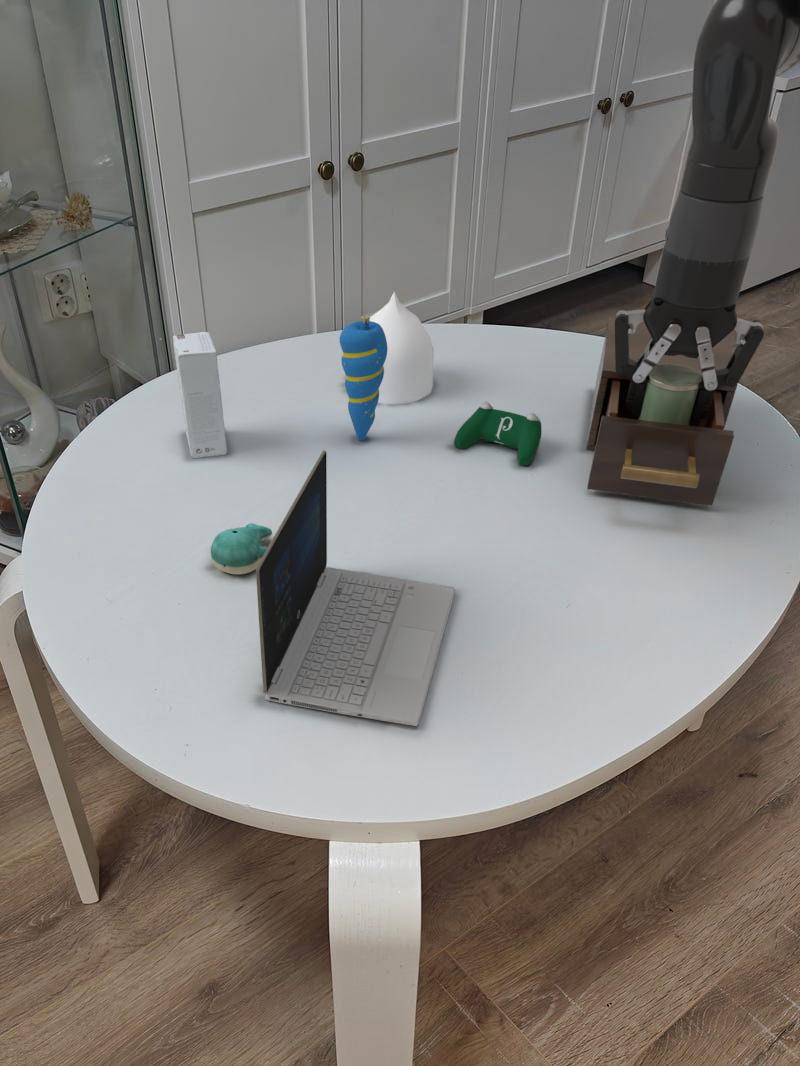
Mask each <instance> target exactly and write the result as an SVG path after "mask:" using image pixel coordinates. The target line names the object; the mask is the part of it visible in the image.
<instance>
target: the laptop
mask: <svg viewBox="0 0 800 1066" xmlns="http://www.w3.org/2000/svg"><path fill="white" fill-rule="evenodd" d="M327 479H328V478H327V451H326V450H325V449H323V450H322V451H321V453H320V455H319V457H318V458H317V460H316V462H315V463H314V465H313V467H312V469H311V471H310V472H309V474H308V475H307V478H306V479H305V481H304V482H303V485H302V486H301V489H300V490H299V492H298V493H297V495H296V497H295V499H294V501H293V502H292V504H291V506H290V507H289V509H288V511H287V512H286V515H285V516H284V518H283V520H282V521H281V523H280V525H279V527H278V529H277V531H276V532H275V534H274V536H273V537H272V539H271V541H270V543H269V545H268V546H267V547H268V548H267V550H266V552H265V553H264V555H263V557H262V559H261V560H260V562H259V564H258V566H257V568H256V569H255V576H256V577H255V579H256V594H257V595H256V597H257V612H258V613H257V614H258V626H259V630H258V631H259V643H260V645H259V646H260V659H261V660H260V662H261V675H262V676H261V677H262V691H263V692H262V693H263V694H265V693H266V695H265V700H266V701H270V702H274V703H279V704H285V705H290V706H296V707H301V708H307V709H311V710H319V711H323V712H330V713H336V714H340V715H347V716H353V717H358V718H363V719H364V718H365V719H371V720H375V721H376V720H377V721H383V722H388V723H396V724H400V725H407V726H414V727H418V726H419V724H420V721H421V717H422V714H423V710H424V706H425V702H426V699H427V697H428V691H429V688H430V685H431V681H432V677H433V674H434V670H435V666H436V663H437V659H438V655H439V652H440V648H441V645H442V642H443V638H444V634H445V630H446V627H447V623H448V620H449V615H450V611H451V609H452V605H453V602H454V598H455V593H456V588H455V587H453V586H449V585H443V584H436V583H430V582H425V581H418V580H417V581H416V580H412V579H406V578H398V577H392V576H385V575H381V574H373V573H368V572H361V571H355V570H348V569H341V568H336V567H329V566H327V563H328V531H327V530H328V525H327V523H328V518H327V515H328V514H327V511H328V509H327V508H328V507H327V506H328V505H327V503H328V502H327V501H328V498H327V495H328V493H327V491H328V489H327V487H328V486H327V484H328V483H327V482H328V481H327Z"/></svg>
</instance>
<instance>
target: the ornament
mask: <svg viewBox="0 0 800 1066" xmlns="http://www.w3.org/2000/svg"><path fill="white" fill-rule="evenodd" d="M366 312H367V309H365V310H364V314H363V315H361V316H360V320H358V321H353V322H351V323H349V324H348V325H347V326H345V327H344V328H343V329H342V331H341V332H340V334H339V345H340V348H341V351H342V355H341V359H340V360H341V366H342V369H343V371H344V374H345V381H344V386H345V390H346V394H347V397H348V403H347V408H348V409H347V410H348V414H349V417H350V421H351V423H352V426H353V429H354V430H353V431H354V432H355V437H356V439H357V441H358V442H363V441H365V439H366V437H367V435H368V433H369V431H370V429H371V428H372V426H373V424H374V422H375V418H376V408H377V406H378V404H379V403H378V399H379V387H380V385H381V382H382V380H383V377H384V367H383V365H384V362H385V360H386V356H387V341H386V336H385V333H384V331H383V329H382V327H381V326H380V325H379V324H378V323H375V322H372V321H370V317H371V316H370V315H368V314H366Z"/></svg>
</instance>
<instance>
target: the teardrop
mask: <svg viewBox="0 0 800 1066" xmlns="http://www.w3.org/2000/svg"><path fill="white" fill-rule="evenodd" d="M369 317H370V321H372V322H375V323H378V324H379V325H380V326H381V327H382V329H383V331H384V333H385V336H386V341H387V356H386V360H385V362H384V365H383V367H384V377H383V380H382V382H381V385H380V387H379V399H378V403H377V404H385V405H402V404H403V405H404V404H410V403H414V402H418V401H420V400H421V399H424V398H425V397H427V396H428V395H430V394H431V393H432V390H433V388H434V352H435V351H434V346H433V343H432V338H431V336H430V335H429V332H428V331H427V330H426V328H425V326H424V325H423V323H422V322H421V320H420V319H419V317H418V316H417V315H416V314H414V313H413V312H412V311H409V310H408V308H407V307H405V306H404V305H403V304H402V303H401V302H400V300H399V298H398V296H397V293H396V292H395V291H393V293H392V295H391V297H390V299H389V301H388V302H387V303H386V304H385V305H384V306H383V307H382V308H381V309H379V310H378V311H376V312H375V313H374V314H372V315H371V316H369Z"/></svg>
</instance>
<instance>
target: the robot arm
mask: <svg viewBox="0 0 800 1066" xmlns="http://www.w3.org/2000/svg"><path fill="white" fill-rule="evenodd" d="M798 66H800V0H715V1H714V3H713V4H712V6H711V7H710V9H709V11H708V12H707V15H706V17H705V19H704V21H703V24H702V27H701V29H700V32H699V35H698V39H697V43H696V48H695V51H694V58H693V68H692V69H693V71H692V95H691V96H692V98H691V119H692V120H691V124H692V136H691V141H690V144H689V148H688V151H687V156H686V160H685V163H684V168H683V174H682V178H681V182H680V186H679V187H680V188H679V191H678V193H677V197H676V201H675V203H674V205H673V209H672V212H671V214H670V215H671V216H670V218H669V223H668V226H667V228H666V231H665V235H664V237H665V239H664V244H663V249H662V254H661V258H660V262H659V267H658V271H657V274H656V275H657V276H656V281H655V285H654V288H653V293H652V297H651V299H650V301H649V302H648V303H647V304H646V306H645V307H644V308H643V309H634V310H629V309H628V308H626V307H624V306H623V307H619V308H618V309H617V310H616V312H615V317H614V318H615V370H616V373H617V374H618V375H625V376H627V377H629V378H630V380H631V382H630V386H629V391H628V395H627V400H626V407H627V410H630V411H631V416H634V417H638V415H639V410H640V406H641V402H642V398H643V393H644V389H645V385H646V377H647V376H648V374H649V373H650V371H651V370H652V369H653V367H654V366H656V365H657V364H658V362H659V361H660V359H661V358H662V356H663V355H668V356H675V355H683V356H686V357H689V358H698V356H699V358H700V364H701V370H702V375H703V381H702V384H701V386H700V388H699V391H698V395H697V399H696V402H695V406H694V409H693V413H692V417H691V423H694V424H698V423H699V419H705V418H706V416H707V415H708V412H709V409H710V405H711V402H712V398H713V395H714V392H715V390H716V389H717V388H719V387H722V386H729V387H734V386H736V385H737V386H738V384H739V382H740V380H741V379H742V377H743V375H744V373H745V371H746V369H747V367H748V365H749V364H750V362H751V360H752V358H753V356H755V353H756V351H757V349H758V348H759V346H760V344H761V343H762V340H763V338H764V336H765V332H764V331H765V330H764V326H763V322H762V321H761V320H760V319H752V320H746V319H743V318H740V317H738V316H737V311H736V307H737V304H738V300H739V295H740V293H741V288H742V285H743V282H744V280H745V275H746V272H747V268H748V265H749V262H750V257H751V254H752V250H753V246H754V245H755V244H754V243H755V240H756V235H757V233H758V229H759V225H760V221H761V215H762V214H761V213H762V208H763V202H764V198H765V193H766V191H767V190H766V189H767V186H768V182H769V179H770V176H771V174H772V173H771V172H772V169H773V165H774V161H775V158H776V155H777V151H778V145H779V138H780V128H779V126H778V124H777V122H776V121H775V120H774V119H773V118H771V117H770V110H771V104H772V98H773V92H774V86H775V81H776V77H778V76H782V75H784V74H787V73H788V72H790V71H792V70H794V69H795V68H797V67H798ZM641 322H644V323H645V325H646V327H647V329H648V331H649V333H650V335H651V337H652V338H651V340H650V341H649V343H648V344H647V346H646V348H645V350H644V352H643V353H642V355H641V356H640V358H639V359H638V361H637V362H636V361H634V360H632V359H630V358H629V335H632V334H634V333H635V332H636V330H637V326H638V325H639V324H640V323H641ZM733 331H734V332H735V343H736V344H737V346H736V347H735V350H733V355H732V357H731V359H730V361H729V362H728V364H727V366H726V368H724V369H720V370H716V366H715V360H714V353H713V347H714V346H716V345H717V344H718V343H719V342H720V341H721V340H722V339H724V338H725V337H726V336H727V335H728V334H729V333H730V334H731V333H732V332H733Z"/></svg>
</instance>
